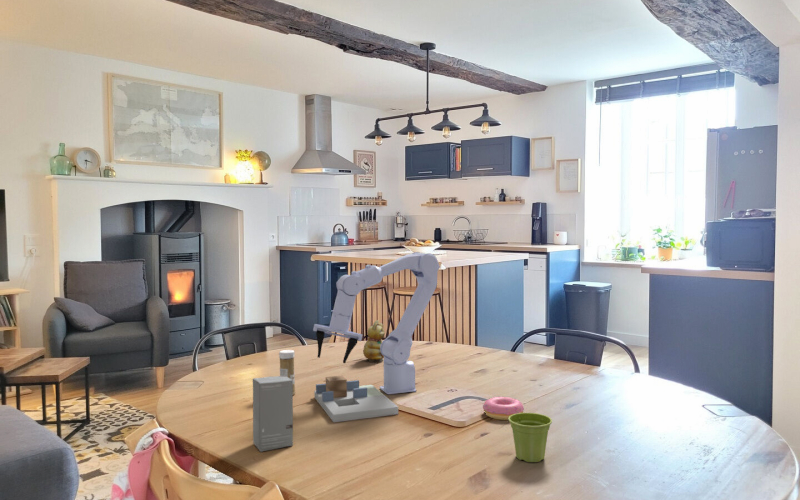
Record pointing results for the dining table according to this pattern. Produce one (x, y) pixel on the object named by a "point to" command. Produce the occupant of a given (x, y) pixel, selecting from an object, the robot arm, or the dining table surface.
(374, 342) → the decorative figurine
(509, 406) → the doughnut
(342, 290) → the robot arm
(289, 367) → the sprinkles bottle
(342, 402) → the deck
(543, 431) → the plant pot
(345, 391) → the walnut block
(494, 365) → the dining table surface
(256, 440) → the skincare box
